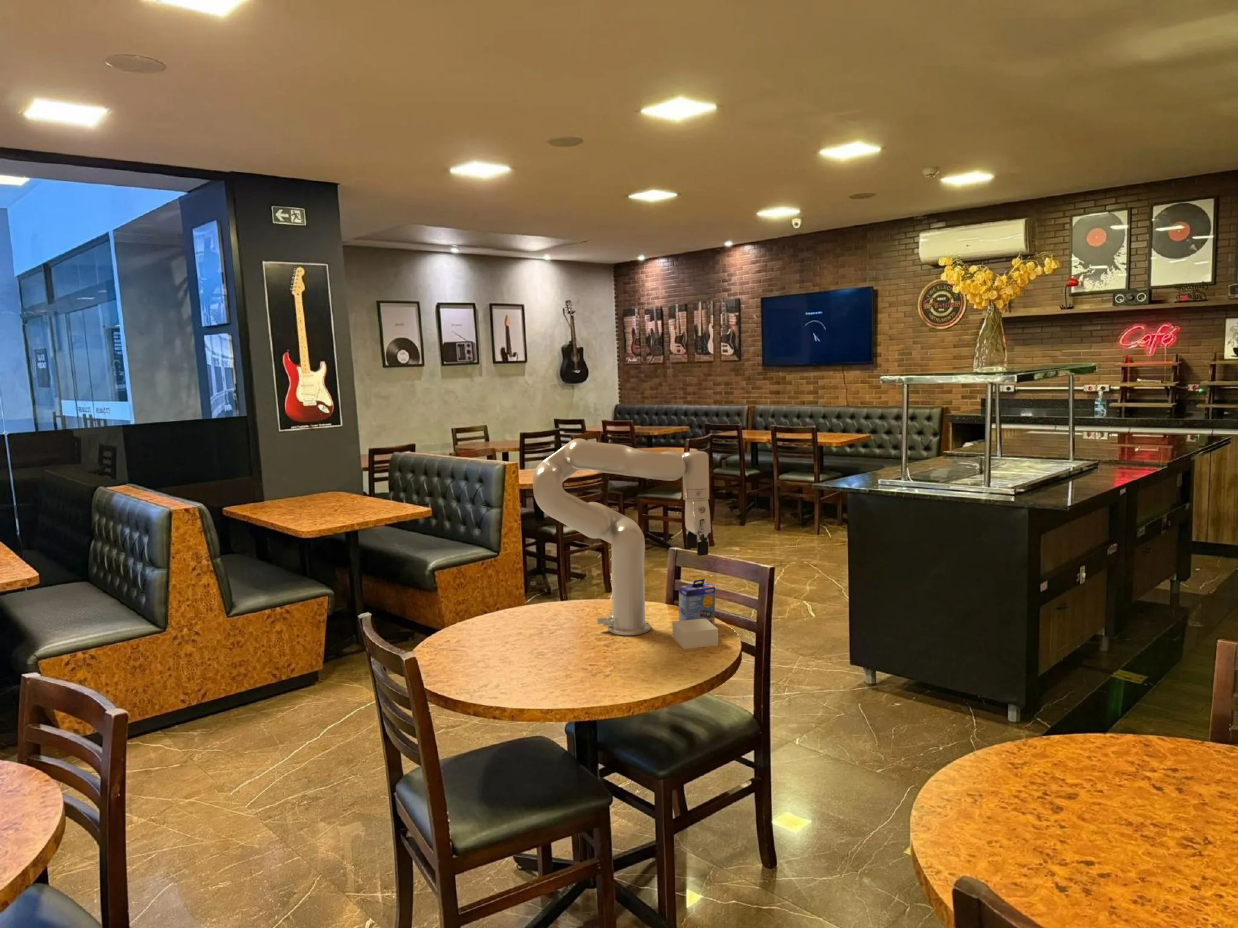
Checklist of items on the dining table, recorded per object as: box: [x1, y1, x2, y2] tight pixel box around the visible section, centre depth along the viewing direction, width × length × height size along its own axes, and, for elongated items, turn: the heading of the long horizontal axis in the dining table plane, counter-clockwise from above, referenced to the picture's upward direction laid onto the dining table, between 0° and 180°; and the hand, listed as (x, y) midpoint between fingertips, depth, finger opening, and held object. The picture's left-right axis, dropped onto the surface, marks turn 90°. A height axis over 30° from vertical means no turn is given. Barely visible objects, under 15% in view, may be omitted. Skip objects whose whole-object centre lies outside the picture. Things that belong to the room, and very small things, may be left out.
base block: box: [672, 618, 719, 650], centre depth 236 cm, size 10×10×5 cm
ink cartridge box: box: [678, 578, 716, 626], centre depth 250 cm, size 10×6×14 cm, turn 115°
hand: (697, 551), depth 248 cm, fingers open, 9 cm apart
